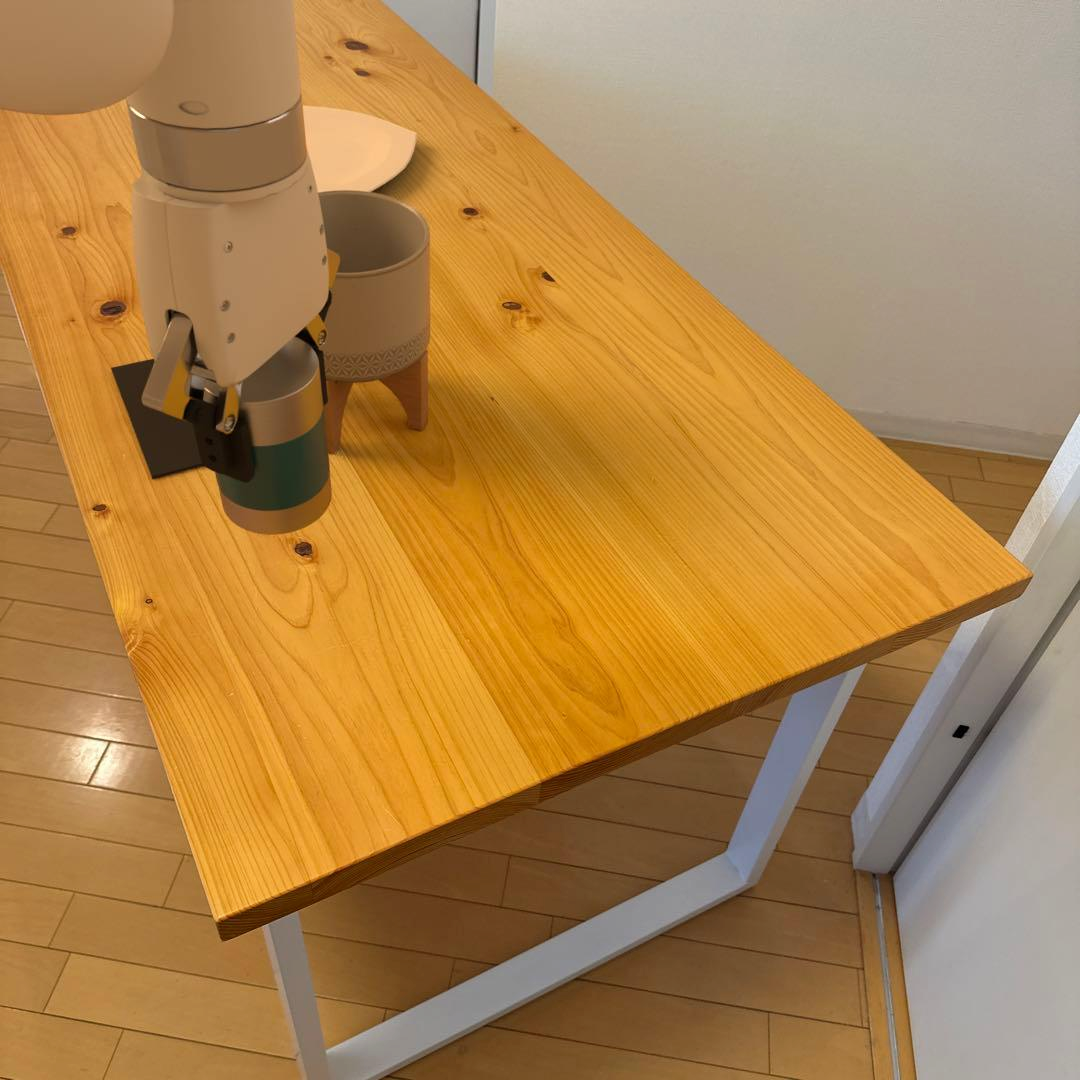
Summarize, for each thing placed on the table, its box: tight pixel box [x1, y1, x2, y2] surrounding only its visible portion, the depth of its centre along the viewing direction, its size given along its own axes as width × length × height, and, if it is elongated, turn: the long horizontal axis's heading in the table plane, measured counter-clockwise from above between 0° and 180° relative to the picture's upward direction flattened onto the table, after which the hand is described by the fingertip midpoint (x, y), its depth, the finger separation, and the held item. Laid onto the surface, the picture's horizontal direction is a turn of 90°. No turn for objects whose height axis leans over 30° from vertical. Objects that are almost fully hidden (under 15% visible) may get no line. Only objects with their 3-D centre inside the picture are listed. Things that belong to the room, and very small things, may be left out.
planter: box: [318, 190, 431, 455], centre depth 85 cm, size 13×13×18 cm
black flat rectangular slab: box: [110, 358, 205, 480], centre depth 89 cm, size 16×8×1 cm, turn 28°
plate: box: [303, 104, 418, 193], centre depth 123 cm, size 23×23×2 cm
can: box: [203, 336, 333, 536], centre depth 59 cm, size 7×7×10 cm
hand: (267, 432), depth 59 cm, fingers closed on can, 6 cm apart
